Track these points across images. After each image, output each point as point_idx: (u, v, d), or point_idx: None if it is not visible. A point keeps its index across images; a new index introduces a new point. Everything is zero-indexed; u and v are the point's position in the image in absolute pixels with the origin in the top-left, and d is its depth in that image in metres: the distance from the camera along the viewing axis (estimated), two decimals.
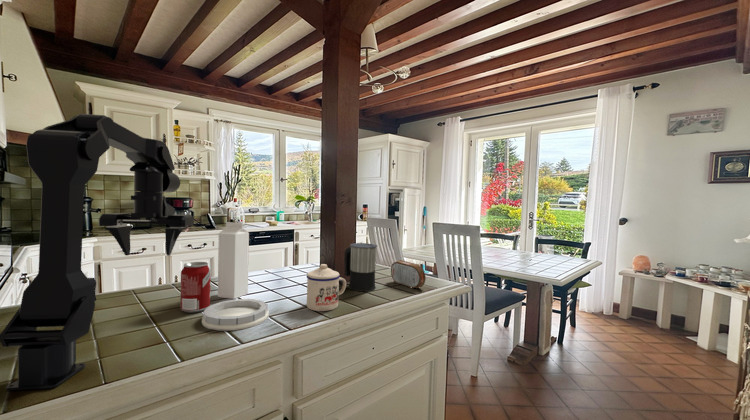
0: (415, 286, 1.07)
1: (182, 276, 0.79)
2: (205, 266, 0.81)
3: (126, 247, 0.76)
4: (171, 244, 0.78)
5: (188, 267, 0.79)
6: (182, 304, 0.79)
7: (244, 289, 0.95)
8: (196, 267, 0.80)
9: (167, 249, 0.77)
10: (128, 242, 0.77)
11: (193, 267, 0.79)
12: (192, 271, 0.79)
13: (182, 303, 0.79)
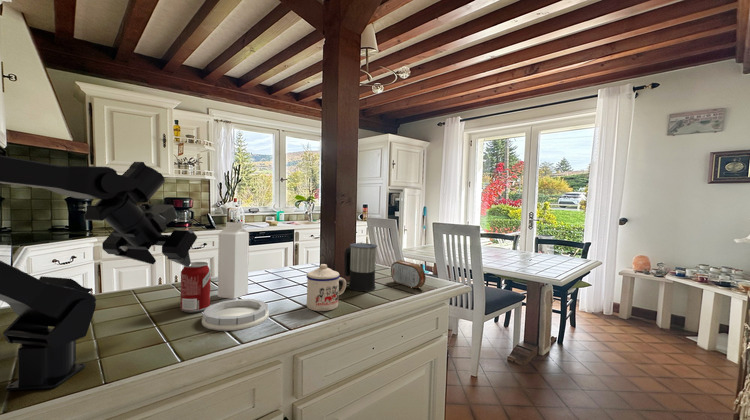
0: (415, 286, 1.07)
1: (182, 276, 0.79)
2: (205, 266, 0.81)
3: (147, 260, 0.73)
4: (184, 261, 0.70)
5: (188, 267, 0.79)
6: (182, 304, 0.79)
7: (244, 289, 0.95)
8: (196, 267, 0.80)
9: None
10: (147, 253, 0.73)
11: (193, 267, 0.79)
12: (192, 271, 0.79)
13: (182, 303, 0.79)
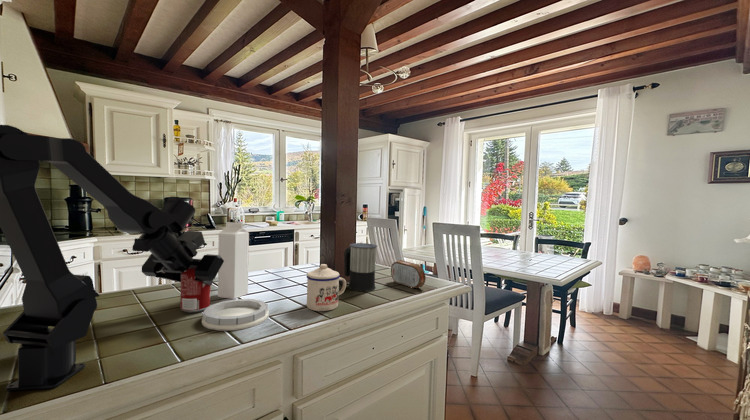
0: (415, 286, 1.07)
1: (182, 276, 0.79)
2: None
3: None
4: (208, 281, 0.80)
5: None
6: (182, 304, 0.79)
7: (244, 289, 0.95)
8: None
9: (207, 284, 0.81)
10: None
11: None
12: (192, 271, 0.79)
13: (182, 303, 0.79)
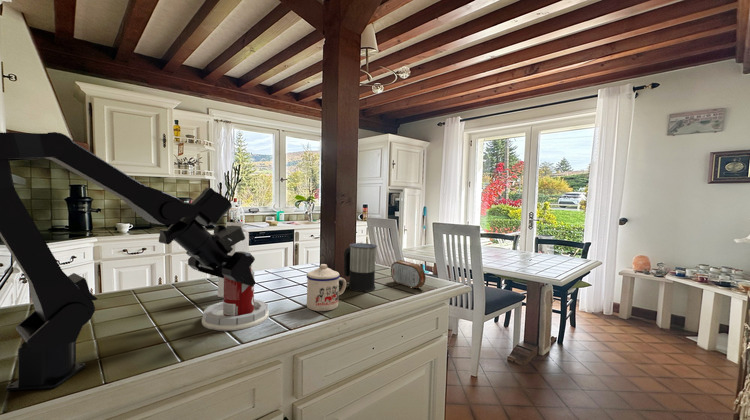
0: (415, 286, 1.07)
1: (224, 278, 0.74)
2: None
3: None
4: (247, 281, 0.73)
5: None
6: (223, 308, 0.74)
7: None
8: None
9: (247, 284, 0.74)
10: None
11: None
12: None
13: (223, 307, 0.74)
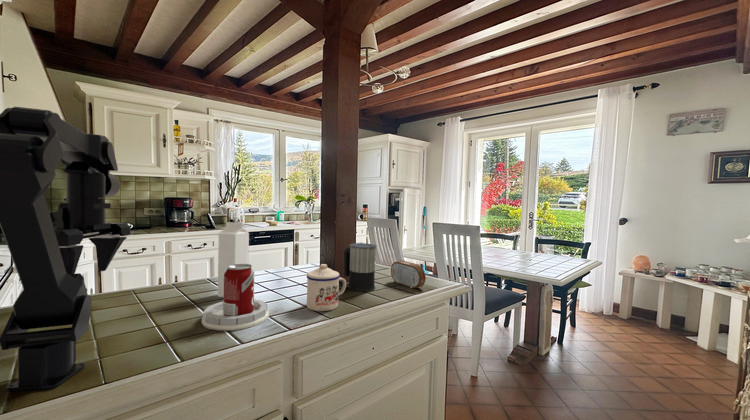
0: (415, 286, 1.07)
1: (224, 278, 0.74)
2: (246, 269, 0.75)
3: None
4: None
5: (229, 269, 0.74)
6: (223, 308, 0.74)
7: None
8: (236, 270, 0.73)
9: (108, 263, 0.68)
10: None
11: (233, 269, 0.73)
12: (231, 274, 0.73)
13: (223, 307, 0.74)
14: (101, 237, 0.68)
